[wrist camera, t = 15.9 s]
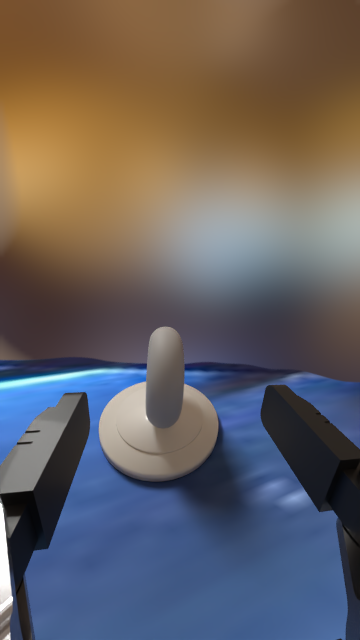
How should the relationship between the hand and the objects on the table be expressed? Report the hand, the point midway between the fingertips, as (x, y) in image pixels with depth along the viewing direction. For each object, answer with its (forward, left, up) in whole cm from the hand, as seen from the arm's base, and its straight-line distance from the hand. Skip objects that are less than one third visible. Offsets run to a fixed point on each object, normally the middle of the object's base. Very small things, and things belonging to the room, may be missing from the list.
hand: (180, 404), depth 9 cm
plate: (0, -11, -12) cm, 16 cm away
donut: (0, -11, -11) cm, 15 cm away
